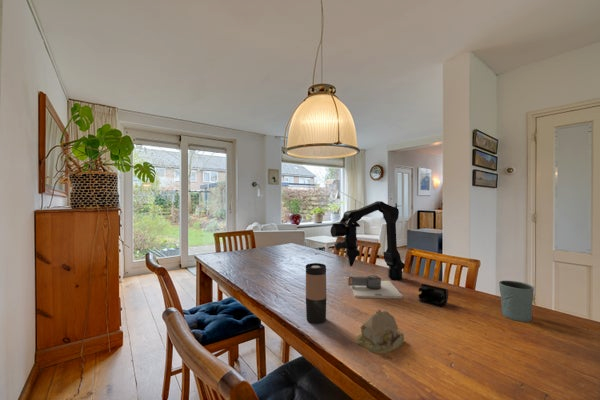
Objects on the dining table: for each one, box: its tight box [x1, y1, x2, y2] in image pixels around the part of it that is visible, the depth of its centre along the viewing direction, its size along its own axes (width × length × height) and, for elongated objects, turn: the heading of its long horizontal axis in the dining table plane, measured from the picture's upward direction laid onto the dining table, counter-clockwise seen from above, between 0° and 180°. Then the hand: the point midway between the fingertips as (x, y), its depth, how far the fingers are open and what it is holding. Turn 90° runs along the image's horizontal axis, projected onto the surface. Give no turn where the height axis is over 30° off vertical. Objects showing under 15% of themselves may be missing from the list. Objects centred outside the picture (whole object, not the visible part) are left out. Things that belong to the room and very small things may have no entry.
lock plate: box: [350, 280, 404, 299], centre depth 126 cm, size 21×21×1 cm
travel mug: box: [305, 262, 327, 325], centre depth 96 cm, size 8×8×20 cm
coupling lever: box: [347, 274, 382, 290], centre depth 126 cm, size 16×7×5 cm, turn 87°
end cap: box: [418, 283, 449, 309], centre depth 111 cm, size 10×7×7 cm
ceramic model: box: [355, 309, 405, 354], centre depth 81 cm, size 14×11×10 cm
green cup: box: [498, 280, 535, 323], centre depth 97 cm, size 10×10×12 cm
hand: (351, 266), depth 133 cm, fingers closed
